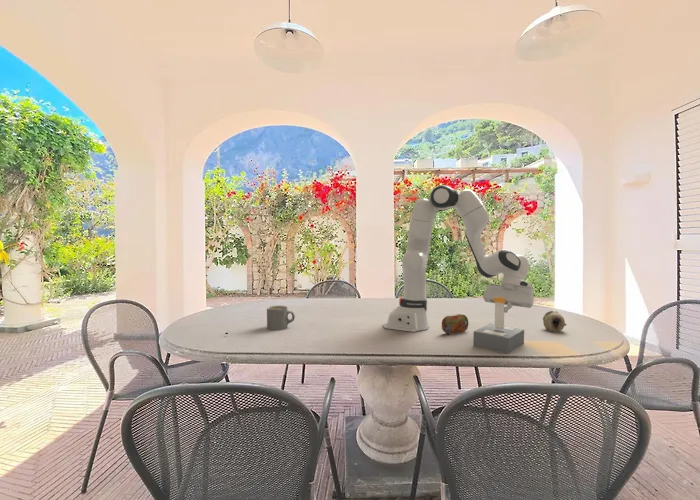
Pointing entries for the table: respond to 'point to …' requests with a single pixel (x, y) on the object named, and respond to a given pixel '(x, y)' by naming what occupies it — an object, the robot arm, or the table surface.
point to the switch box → (498, 338)
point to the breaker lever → (499, 312)
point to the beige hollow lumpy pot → (553, 321)
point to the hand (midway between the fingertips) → (502, 311)
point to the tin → (455, 324)
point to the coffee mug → (278, 317)
